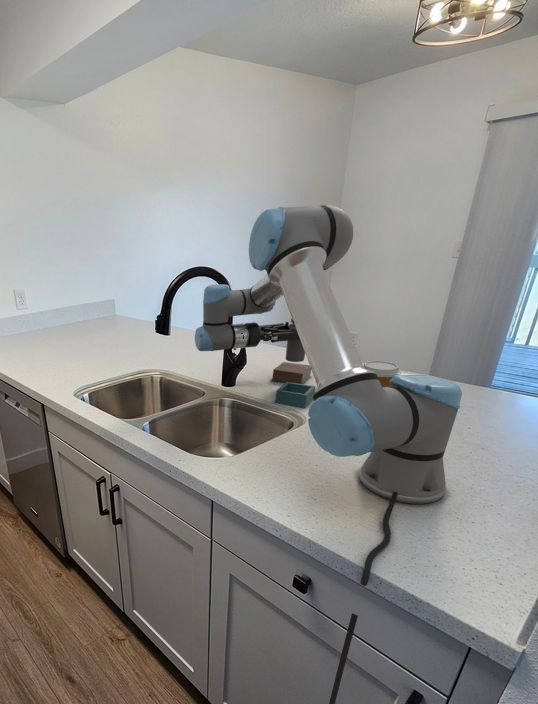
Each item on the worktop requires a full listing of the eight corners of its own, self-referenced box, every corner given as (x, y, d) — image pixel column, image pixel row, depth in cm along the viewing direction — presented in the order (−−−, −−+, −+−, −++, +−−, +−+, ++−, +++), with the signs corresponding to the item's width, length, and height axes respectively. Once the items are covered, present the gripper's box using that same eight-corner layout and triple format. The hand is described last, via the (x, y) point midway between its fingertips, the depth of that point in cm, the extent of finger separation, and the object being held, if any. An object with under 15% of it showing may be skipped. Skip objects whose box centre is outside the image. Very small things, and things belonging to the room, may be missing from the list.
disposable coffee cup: (395, 411, 123) (405, 370, 118) (359, 410, 125) (367, 370, 120) (385, 398, 131) (394, 360, 126) (351, 398, 133) (358, 360, 128)
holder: (304, 408, 129) (306, 395, 127) (275, 402, 134) (276, 390, 132) (313, 398, 135) (315, 386, 133) (285, 393, 140) (286, 381, 138)
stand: (301, 385, 146) (302, 373, 144) (272, 380, 151) (273, 369, 149) (310, 376, 153) (311, 365, 151) (282, 372, 158) (283, 361, 156)
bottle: (306, 361, 140) (313, 314, 133) (288, 362, 140) (294, 315, 133) (300, 356, 145) (306, 310, 138) (283, 357, 145) (288, 311, 138)
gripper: (233, 340, 146) (297, 334, 149) (255, 355, 130) (327, 348, 132) (234, 317, 143) (300, 311, 145) (257, 329, 126) (331, 323, 129)
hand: (313, 329), depth 139 cm, fingers closed on bottle, 6 cm apart
